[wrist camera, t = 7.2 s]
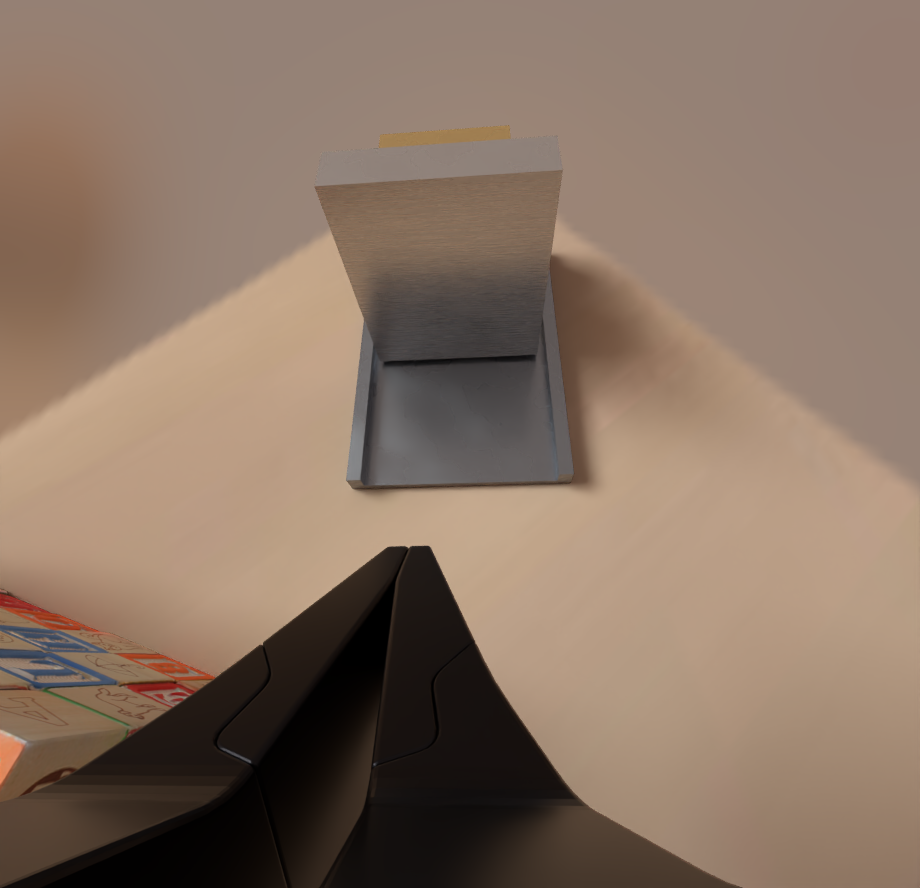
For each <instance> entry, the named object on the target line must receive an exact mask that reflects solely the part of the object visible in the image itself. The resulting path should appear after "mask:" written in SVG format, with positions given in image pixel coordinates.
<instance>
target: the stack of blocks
mask: <svg viewBox="0 0 920 888" xmlns="http://www.w3.org/2000/svg"><path fill="white" fill-rule="evenodd" d="M213 679H215V677H213V676H211V675H208V674H206V673H203V672H201V671H199V670H196V669H194V668H192V667H189V666H187V665H185V664H182V663H180V662H177V661H175V660H173V659H170V658H168V657H166V656H163V655H160V654H158V653H156V652H154V651H152V650H150V649H148V648H145V647H143V646H141V645H138V644H136V643H133V642H131V641H129V640H126V639H124V638H121V637H119V636H116V635H114V634H111V633H104V632H99V631H97V630H95V629H92V628H90V627H86V626H84V625H82V624H80V623H78V622H75V621H73V620H70V619H68V618H66V617H63V616H61V615H57V614H52V613H50V612H47V611H45V610H43V609H41V608H38V607H36V606H33V605H31V604H28V603H25V602H24V601H21V600H18V599H16V598H14V597H11V596H8V595H7V592H6V591H4V590H2V589H0V802H2V801H6V800H10V799H13V798H16V797H19V796H22V795H25V794H28V793H31V792H33V791H36V790H38V789H40V788H43V787H45V786H47V785H50V784H52V783H54V782H56V781H58V780H60V779H61V778H63V777H65V776H67V775H69V774H71V773H72V772H74V771H76V770H77V769H79V768H80V767H82V766H84V765H85V764H87V763H88V762H90V761H92V760H93V759H95V758H96V757H98V756H99V755H101V754H102V753H104V752H105V751H107V750H108V749H110V748H111V747H113V746H114V745H116V744H117V743H119V742H120V741H122V740H123V739H125V738H126V737H128V736H129V735H131V734H133V733H134V732H136V731H137V730H139V729H140V728H142V727H143V726H145V725H146V724H148V723H149V722H151V721H152V720H154V719H155V718H157V717H158V716H160V715H161V714H163V713H164V712H166V711H167V710H169V709H170V708H172V707H174V706H175V705H177V704H178V703H180V702H181V701H183V700H184V699H185V698H187V697H188V696H190V695H191V694H193V693H194V692H196V691H197V690H199V689H200V688H202V687H203V686H205V685H206V684H207V683H209V682H210V681H212V680H213Z"/></svg>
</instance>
